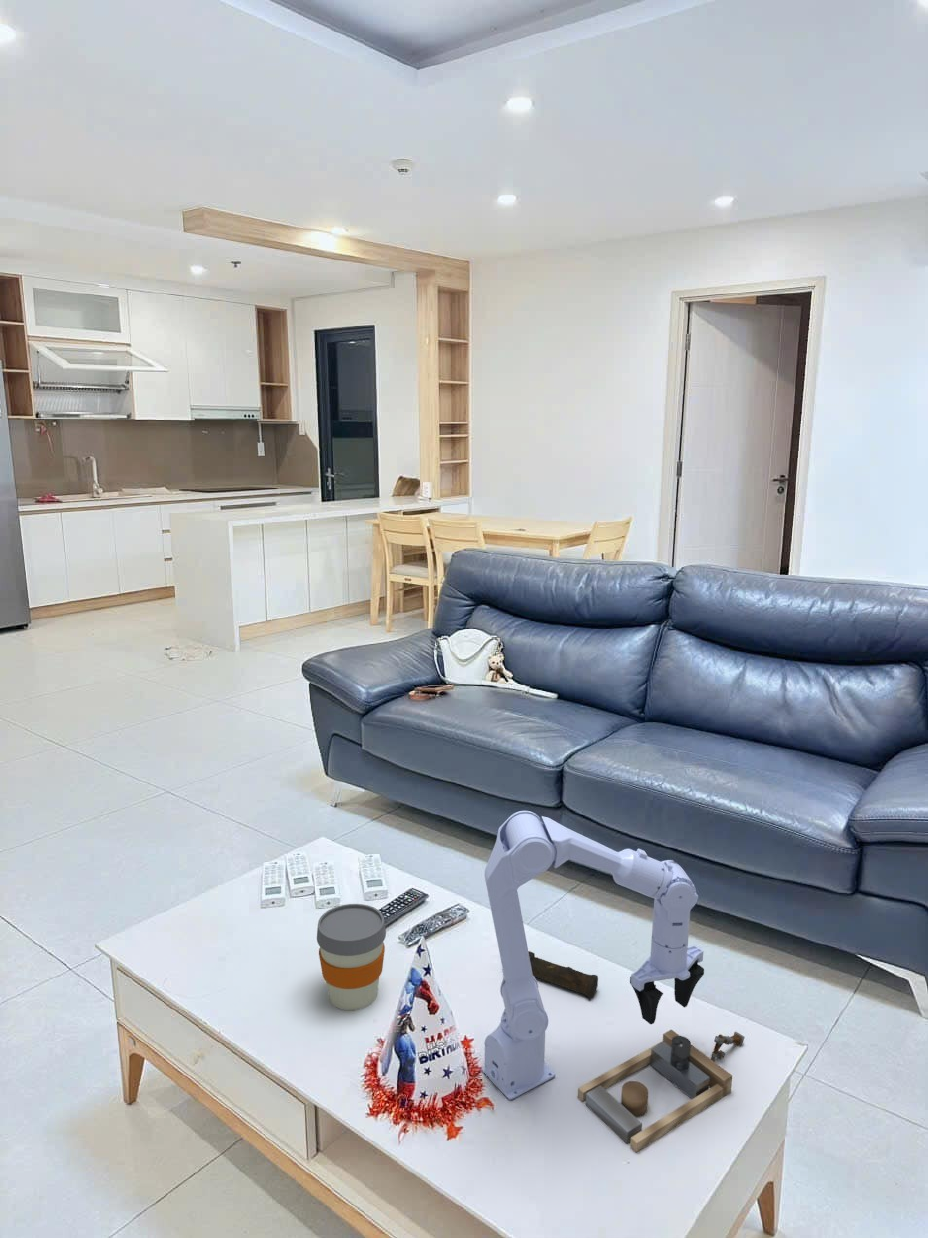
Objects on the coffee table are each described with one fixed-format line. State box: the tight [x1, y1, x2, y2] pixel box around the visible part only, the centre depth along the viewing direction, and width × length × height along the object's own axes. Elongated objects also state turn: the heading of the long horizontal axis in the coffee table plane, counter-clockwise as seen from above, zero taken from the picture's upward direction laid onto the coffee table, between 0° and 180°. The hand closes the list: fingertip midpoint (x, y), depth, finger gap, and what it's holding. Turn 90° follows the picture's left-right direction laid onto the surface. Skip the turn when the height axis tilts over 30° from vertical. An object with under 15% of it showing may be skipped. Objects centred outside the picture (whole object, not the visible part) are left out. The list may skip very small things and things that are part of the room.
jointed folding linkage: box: [710, 1031, 745, 1063], centre depth 145 cm, size 2×8×4 cm, turn 130°
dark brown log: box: [528, 950, 599, 1001], centre depth 164 cm, size 19×4×5 cm, turn 58°
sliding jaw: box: [649, 1035, 710, 1100], centre depth 139 cm, size 3×10×7 cm, turn 34°
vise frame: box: [577, 1029, 733, 1153], centre depth 136 cm, size 21×13×3 cm, turn 124°
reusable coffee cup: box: [316, 903, 387, 1011], centre depth 158 cm, size 13×13×15 cm
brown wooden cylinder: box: [620, 1080, 649, 1118], centre depth 134 cm, size 4×4×3 cm
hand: (664, 1011), depth 142 cm, fingers open, 7 cm apart
